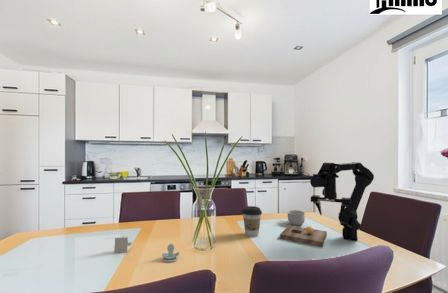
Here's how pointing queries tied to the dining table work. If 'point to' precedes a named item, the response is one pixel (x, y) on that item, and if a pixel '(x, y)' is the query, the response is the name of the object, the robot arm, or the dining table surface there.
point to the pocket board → (304, 236)
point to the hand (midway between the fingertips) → (330, 216)
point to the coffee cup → (251, 220)
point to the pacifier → (170, 254)
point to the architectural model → (121, 245)
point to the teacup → (296, 217)
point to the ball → (309, 229)
